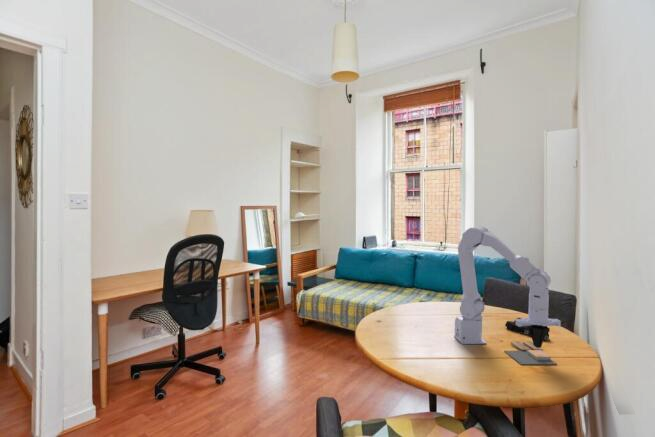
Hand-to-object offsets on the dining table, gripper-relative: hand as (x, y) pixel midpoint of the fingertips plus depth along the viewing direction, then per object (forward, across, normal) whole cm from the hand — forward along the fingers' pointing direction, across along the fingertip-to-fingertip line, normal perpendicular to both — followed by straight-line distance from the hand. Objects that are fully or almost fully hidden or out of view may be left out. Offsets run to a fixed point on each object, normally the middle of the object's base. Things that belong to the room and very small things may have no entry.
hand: (537, 346), depth 115 cm
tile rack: (+4, +1, +8) cm, 9 cm away
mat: (+4, -3, 0) cm, 5 cm away
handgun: (+5, +13, +24) cm, 28 cm away
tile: (+3, -2, 0) cm, 4 cm away
